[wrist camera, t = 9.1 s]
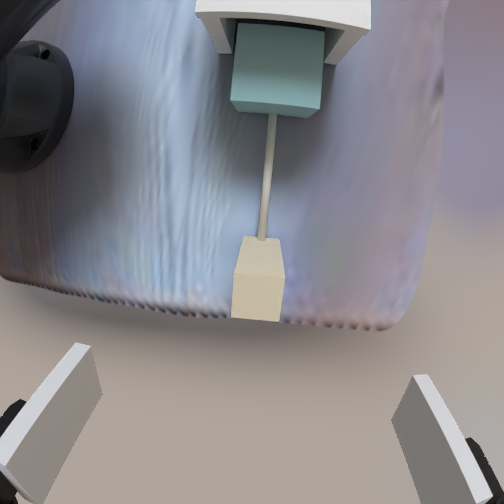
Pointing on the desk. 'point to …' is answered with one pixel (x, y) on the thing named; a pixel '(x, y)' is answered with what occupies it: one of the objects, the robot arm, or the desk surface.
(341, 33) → the white open box
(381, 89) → the desk surface
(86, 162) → the desk surface
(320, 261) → the desk surface
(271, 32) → the tethered block
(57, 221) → the desk surface
